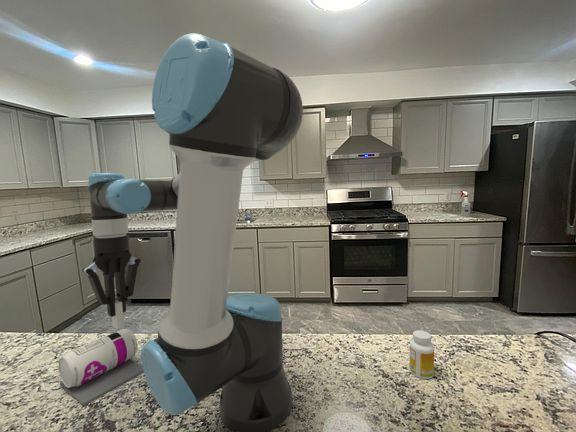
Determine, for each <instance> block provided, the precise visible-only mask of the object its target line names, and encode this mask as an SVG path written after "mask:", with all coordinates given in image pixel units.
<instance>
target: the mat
mask: <svg viewBox="0 0 576 432" xmlns="http://www.w3.org/2000/svg"><path fill="white" fill-rule="evenodd" d="M143 373H144V371H143V367H142V364H139V363H138V362H135V361H134V360H133V359H130V360H128V361H126V362H124V363H122V364H120V365H118V366H116V367H114V368H112V369H111V370H109V371H107V372H105V373H103V374H101V375H99V376H97V377H95V378H93V379H91V380H89V381H87V382H86V383H84V384H82V385H80V386H77V387H70V388H67V387H66V386H65V385H64V383H63V382H62V381H60V382H59V386H60V387H61V388H62V389H64V390H65V391H66V392H67V393H68V394H69V395H70V396H71V397H72V398H73V399H75V400H76V401H77V403H79V405H81V406H82V407H84V406H86V405H88V404H90V403H91V402H93V401H95V400H97V399H99V398H101V397H102V396H104V395H106V394H107V393H108V394H109V392H111V391H113V390H114V389H116V388H118V387H120V386H121V385H123V384H125V383H127V382H129V381H131V380H133V379H134V378H136V377H138V376H140V375H141V374H143Z"/></svg>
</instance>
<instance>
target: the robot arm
mask: <svg viewBox="0 0 576 432" xmlns="http://www.w3.org/2000/svg"><path fill="white" fill-rule="evenodd" d="M152 85H153V86H152V93H151V94H152V96H151V108H152V110H153V112H154V114H153V117H154V118H153V119H154V120H155V122H156V124H157V125H158V127H159V128H160V129H161V130H163V131H165V132H166V133H167V134H169V142H168V147H169V148H170V149H171V151H172V152H173V153H174V154H175V155H176V156H177V158H178V159H179V162H180V163H179V164H180V165H179V173H177V175H176V176H175V177H173V178H172V179H170V180H169V179H168V180H163V179H161V180H159V179H157V180H156V179H154V180H153V179H136V178H125V176H124V175H123V174H122V173H117V172H114V173H113V172H97V173H96V172H95V173H94V172H93V173H91V174H89V175H88V186H87V190H88V193H89V205H90V214H91V215H90V216H91V226H92V229H91V230H92V236H93V237H94V238H93V241H92V242H93V254H94V257H93V260H92V263H91V264H90V265H89V266H87V267H83V268H82V273H83V274H84V275H85V276H87V278H88V280H89V282H90V285H91V287H92V291H93V292H94V295H95V298H96V301H97V303H100V304H102V305H106V307H107V308H106V309H107V315H108V316H109V317H111V323H112V324H111V325H112V328H115V329H116V330H120V329H123V328H124V327H125V323H124V313H126V311H127V304H126V302H127V301H128V299H129V297H132V296H133V295H134V290H135V283H136V278H137V272H138V267H139V265H140V263H141V261H142V260H141V258H138V257H134V256H133V255H132V253H131V252H130V236H129V235H128V233H129V223H128V214H129V215H131V214H137V213H145V212H147V213H148V212H160V211H162V212H163V211H176V219H175V232H174V233H175V234H174V235H175V237H174V247H173V262H172V276H171V277H172V279H171V292H170V293H171V295H170V305H169V306H170V307H169V310H168V311H166V312H165V313H164V314H163V315H162V316H161V318H160V320H159V321H158V322H159V323H158V327H157V328H158V330H157V338H154V339H149V341H148V342H146V343H145V344H143V345H142V347H141V351H140V361H141V366H142V367H143V371H144V372H143V373H144V374H143V375H144V377H145V380H146V382H147V385H148V388H149V390H150V392H151V394H152V396H153V398H154V399H155V402H156V403H157V404H158V405H159V406H160V408H161V409H162V410H163V411H164V412H165V413H167V414H168V415H174V416H175V415H176V416H178V415H180V414H182V413H184V412H186V411H188V410H189V409H190V408H192V407H197V405H198V404H199V403H201V402H202V401H204V400H205V399H206V398H208V397H209V396H211V395H212V394H213V393H215V392H217V391H218V390H219V389H221V388H222V391H221V393H220V397H219V414H220V415H219V416H220V418H221V421H222V422H223V424H224V425H226V427H227V428H229V430H231V431H234V432H269V431H271V430H273V429H276V428H277V427H278V426H279V425H281V424H282V423H283V422H284V421H285V420H286V419H287V418H288V416H289V415H290V413H291V410H292V408H293V407H292V406H293V392H292V386H291V385H290V382H289V381H288V378H287V375H286V372H285V369H284V365H283V364H284V363H283V362H284V361H283V357H284V355H283V317H282V308H281V304H280V302H279V301H278V300H277V299H276V298H274V297H272V296H270V295H267V294H263V293H262V294H261V293H254V292H253V293H251V292H250V293H249V292H248V293H247V292H246V293H237V294H233V295H230V296H229V287H230V280H231V273H232V272H231V271H232V264H233V263H232V262H233V258H234V257H233V255H234V247H235V242H236V241H235V239H236V232H237V222H238V217H239V216H238V215H239V208H240V207H239V206H240V198H241V191H242V184H243V174H244V170H245V169H246V168H247V167H248V166H250V165H252V164H253V163H254V162H256V161H264V162H265V161H267V160H269V159H270V158H272V157H274V156H275V155H276V154H278V153H280V152H281V151H282V150H283V149H285V148H286V147H288V145H289V144H290V143H291V142H293V140H294V138H295V137H296V135H297V134H298V132H299V130H300V127H301V124H302V122H303V114H304V109H303V108H304V106H303V100H302V97H301V93H300V91H299V89H298V87H297V86H296V84H295V82H294V81H293V80H292V79H291V78H290V76H288V75H287V74H285V73H284V72H283V71H281V70H280V69H277V68H275V67H272V66H270V65H267V64H266V63H264V62H262V61H260V60H258V59H256V58H254V57H252V56H250V55H248V54H246V53H244V52H243V51H240V50H239V49H236V48H234V47H232V46H231V45H230V44H229V43H227V42H225V41H222V40H221V41H218V40H216V39H213V38H211V37H208V36H206V35H204V34H200V33H195V32H193V33H188V34H184V35H182V36H179V38H177V39H175V41H174V42H173V43H171V45H170V46H169V47H168V48H167V50H166V51H165V54H164V55H163V56H162V58H161V60H160V63H159V65H158V68H157V69H156V73H155V77H154V79H153V84H152ZM127 265H128V266H127ZM126 267H127V272H126ZM98 269H99V271H101V273H102V276H103V281H104V282H103V283H104V288H103V285H102V283H101V280H100V278H99V276H98V274H97V272H98ZM125 276H126V277H125ZM116 298H117V299H116Z"/></svg>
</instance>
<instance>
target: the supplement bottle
mask: <svg viewBox="0 0 576 432" xmlns="http://www.w3.org/2000/svg"><path fill="white" fill-rule="evenodd" d="M409 371H410V374H412V375H413V376H414V377H416V378H419V379H423V380H429V379H432V378H433V377H434V375H435V345H434V344H433V343H432V335H431V333H429V332H428V331H425V330H418V329H417V330H414V331H413V333H412V339H410V341H409Z"/></svg>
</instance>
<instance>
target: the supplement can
mask: <svg viewBox="0 0 576 432" xmlns="http://www.w3.org/2000/svg"><path fill="white" fill-rule="evenodd" d="M138 347H139V346H138V340H137V337H136V335H135V333H134V332H133V330H130V329H129V328H128V329H127V328H120V329H118V330H117V331H114V332H112V333H109V334H107V335H104V336H102V337H99V338H98V339H95V340H92V341H91V342H88V343H85V344H84V345H81V346H79V347H76V348H73V349H71V350H69V351H67V352H66V353H65V354H64V355H63V356H61V357H60V358H59V359H58V374H59V375H60V379H61V382H63V383H64V385H65V386H66V387H67V388H70V387H77V386H80V385H82V384H84V383H86V382H87V381H89V380H91V379H93V378H95V377H97V376H99V375H101V374H103V373H105V372H107V371H109V370H111V369H112V368H114V367H116V366H118V365H120V364H122V363H124V362H126V361H128V360H130V359H131V360H133V358H134V357H135V356H136V354H137V352H138V349H139V348H138Z"/></svg>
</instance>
